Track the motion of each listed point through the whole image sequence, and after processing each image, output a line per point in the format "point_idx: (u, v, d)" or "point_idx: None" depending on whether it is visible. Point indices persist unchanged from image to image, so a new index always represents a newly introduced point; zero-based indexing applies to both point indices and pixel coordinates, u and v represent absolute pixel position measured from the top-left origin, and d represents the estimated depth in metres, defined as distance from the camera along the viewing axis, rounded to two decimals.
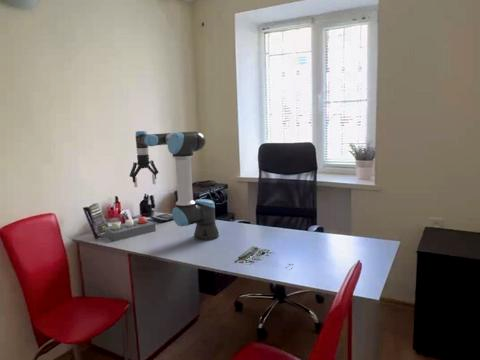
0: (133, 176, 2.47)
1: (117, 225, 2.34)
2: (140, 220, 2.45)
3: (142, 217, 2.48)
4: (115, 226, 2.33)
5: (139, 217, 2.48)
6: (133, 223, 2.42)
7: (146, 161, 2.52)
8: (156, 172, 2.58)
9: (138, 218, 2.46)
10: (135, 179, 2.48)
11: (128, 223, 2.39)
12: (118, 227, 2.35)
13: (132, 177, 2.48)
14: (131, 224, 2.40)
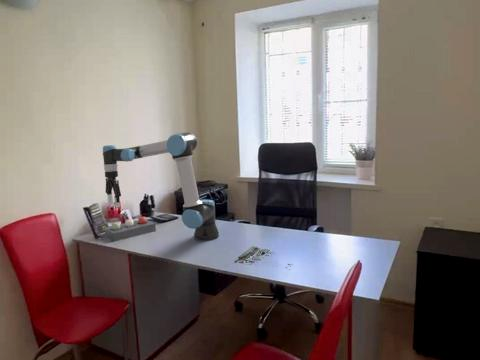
0: (107, 193, 2.37)
1: (117, 225, 2.34)
2: (140, 220, 2.45)
3: (142, 217, 2.48)
4: (115, 226, 2.33)
5: (139, 217, 2.48)
6: (133, 223, 2.42)
7: (111, 178, 2.29)
8: None
9: (138, 218, 2.46)
10: (108, 196, 2.36)
11: (128, 223, 2.39)
12: (118, 227, 2.35)
13: None
14: (131, 224, 2.40)
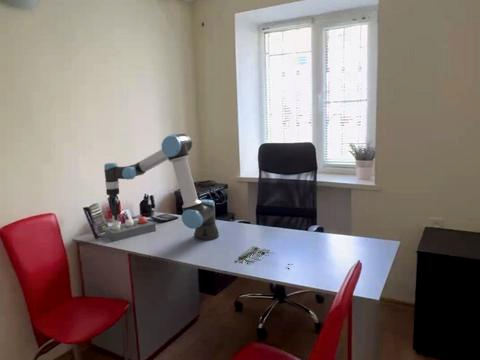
0: (112, 213, 2.35)
1: (117, 227, 2.34)
2: (140, 220, 2.45)
3: (142, 217, 2.48)
4: (115, 228, 2.34)
5: (139, 217, 2.48)
6: (133, 223, 2.42)
7: (113, 195, 2.30)
8: None
9: (138, 218, 2.46)
10: (112, 216, 2.35)
11: (128, 223, 2.39)
12: (119, 229, 2.35)
13: None
14: (131, 224, 2.40)
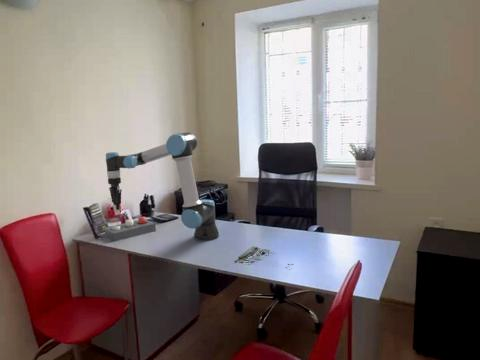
0: None
1: (117, 228, 2.34)
2: (140, 220, 2.45)
3: (142, 217, 2.48)
4: (115, 229, 2.34)
5: (139, 217, 2.48)
6: (133, 223, 2.42)
7: (114, 184, 2.30)
8: None
9: (138, 218, 2.46)
10: None
11: (128, 223, 2.39)
12: None
13: None
14: (131, 224, 2.40)
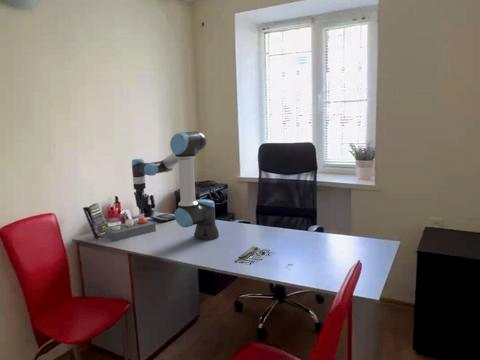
0: None
1: (117, 228, 2.34)
2: (140, 221, 2.45)
3: (142, 218, 2.48)
4: (115, 229, 2.34)
5: (139, 218, 2.48)
6: (133, 223, 2.42)
7: (140, 190, 2.41)
8: None
9: (138, 219, 2.46)
10: (139, 210, 2.46)
11: (128, 223, 2.39)
12: None
13: None
14: (131, 224, 2.40)
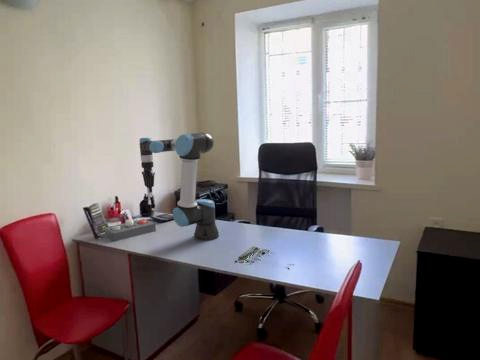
0: None
1: (117, 228, 2.34)
2: (140, 223, 2.46)
3: (142, 220, 2.48)
4: (115, 229, 2.34)
5: None
6: (133, 223, 2.42)
7: (148, 168, 2.42)
8: None
9: (138, 221, 2.46)
10: None
11: (128, 223, 2.39)
12: None
13: None
14: (131, 224, 2.40)
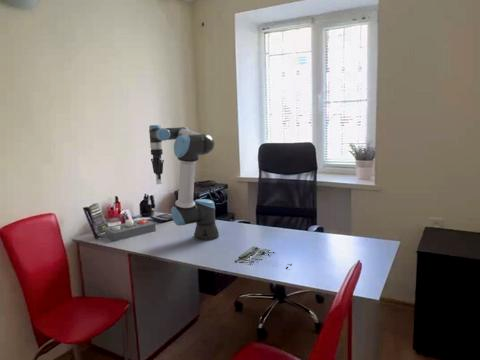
0: None
1: (117, 228, 2.34)
2: (140, 223, 2.46)
3: (142, 220, 2.48)
4: (115, 229, 2.34)
5: None
6: (133, 223, 2.42)
7: (157, 155, 2.45)
8: None
9: (138, 221, 2.46)
10: (156, 176, 2.50)
11: (128, 223, 2.39)
12: None
13: None
14: (131, 224, 2.40)
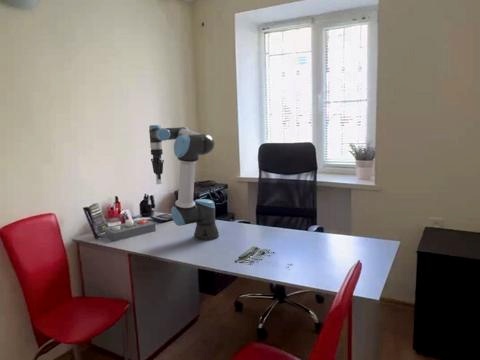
0: None
1: (117, 228, 2.34)
2: (140, 223, 2.46)
3: (142, 220, 2.48)
4: (115, 229, 2.34)
5: None
6: (133, 223, 2.42)
7: (157, 155, 2.45)
8: None
9: (138, 221, 2.46)
10: (156, 176, 2.50)
11: (128, 223, 2.39)
12: None
13: None
14: (131, 224, 2.40)
